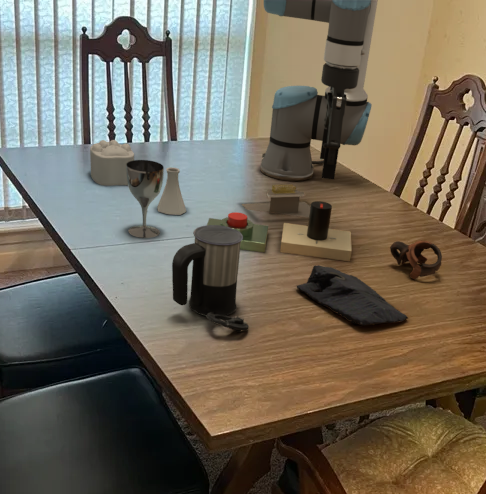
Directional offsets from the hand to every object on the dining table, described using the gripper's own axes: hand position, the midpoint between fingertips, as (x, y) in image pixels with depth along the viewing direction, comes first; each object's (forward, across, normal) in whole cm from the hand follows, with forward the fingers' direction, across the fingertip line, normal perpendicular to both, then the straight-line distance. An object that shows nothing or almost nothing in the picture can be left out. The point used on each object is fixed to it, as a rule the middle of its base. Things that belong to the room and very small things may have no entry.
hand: (326, 168), depth 169 cm
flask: (+18, +12, +35) cm, 41 cm away
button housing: (+18, -1, +19) cm, 26 cm away
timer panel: (+18, 0, 0) cm, 18 cm away
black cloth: (+18, -28, -7) cm, 35 cm away
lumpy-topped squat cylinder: (+19, +31, +53) cm, 64 cm away
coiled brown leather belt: (+18, -8, -22) cm, 30 cm away
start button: (+15, -1, +19) cm, 24 cm away
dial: (+16, 0, 0) cm, 16 cm away
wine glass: (+18, -3, +39) cm, 44 cm away
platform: (+19, +20, +8) cm, 29 cm away
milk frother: (+18, -40, +19) cm, 48 cm away
